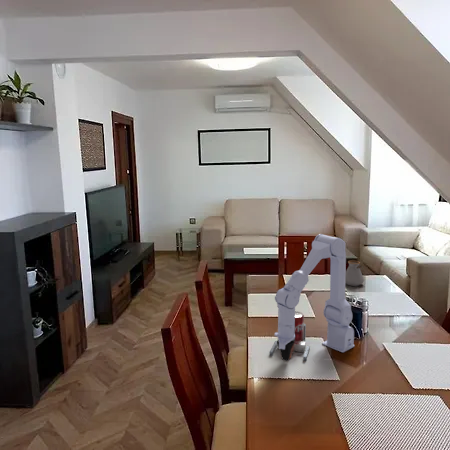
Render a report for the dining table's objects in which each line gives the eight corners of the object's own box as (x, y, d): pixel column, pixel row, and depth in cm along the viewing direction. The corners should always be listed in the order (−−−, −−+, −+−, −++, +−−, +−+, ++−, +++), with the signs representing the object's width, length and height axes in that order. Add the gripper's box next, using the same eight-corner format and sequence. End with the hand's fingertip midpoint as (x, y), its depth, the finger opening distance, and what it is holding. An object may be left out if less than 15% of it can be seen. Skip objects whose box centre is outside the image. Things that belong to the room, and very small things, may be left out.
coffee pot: (340, 280, 237) (341, 255, 234) (361, 281, 236) (362, 255, 233) (348, 293, 216) (349, 265, 213) (370, 293, 215) (372, 265, 212)
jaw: (279, 344, 157) (279, 338, 157) (305, 348, 154) (305, 341, 154) (273, 356, 149) (274, 348, 148) (301, 360, 146) (301, 353, 145)
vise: (280, 334, 167) (280, 320, 166) (313, 339, 162) (313, 325, 161) (269, 355, 150) (269, 340, 149) (306, 361, 145) (306, 345, 144)
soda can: (281, 345, 158) (282, 315, 156) (287, 337, 164) (288, 309, 162) (299, 349, 154) (300, 319, 152) (305, 341, 161) (306, 312, 159)
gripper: (279, 313, 150) (278, 348, 152) (270, 329, 137) (269, 367, 139) (298, 316, 148) (297, 351, 150) (291, 332, 134) (290, 370, 137)
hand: (285, 359), depth 144 cm, fingers closed
